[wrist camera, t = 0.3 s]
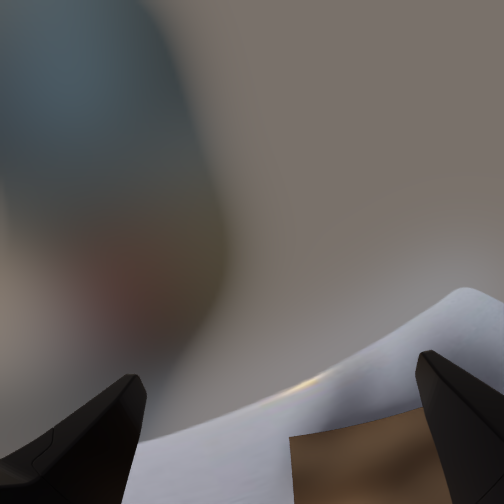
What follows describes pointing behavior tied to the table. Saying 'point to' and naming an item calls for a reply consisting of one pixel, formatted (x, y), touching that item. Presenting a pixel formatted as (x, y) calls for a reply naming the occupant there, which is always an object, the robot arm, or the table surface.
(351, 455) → the walnut block
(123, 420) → the robot arm
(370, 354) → the table surface
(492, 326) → the table surface
